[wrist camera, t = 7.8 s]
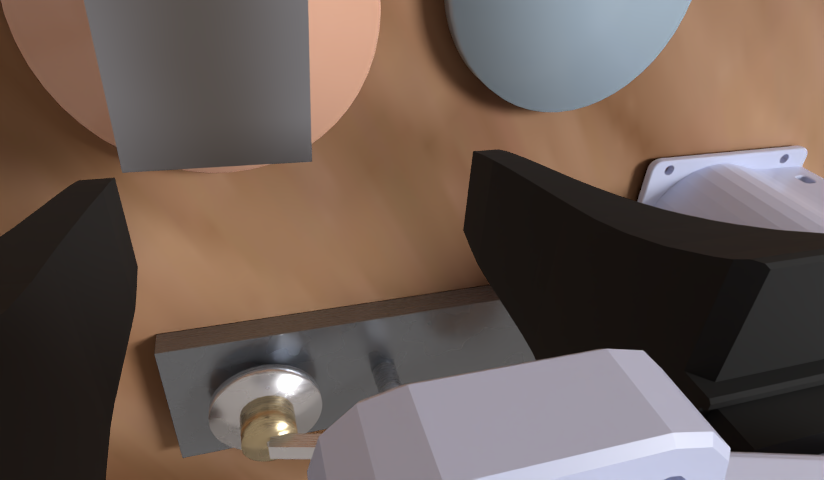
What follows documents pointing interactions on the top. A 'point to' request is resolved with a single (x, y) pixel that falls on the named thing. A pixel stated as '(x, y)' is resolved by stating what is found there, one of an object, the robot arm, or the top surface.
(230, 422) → the balance
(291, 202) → the top surface
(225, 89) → the block
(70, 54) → the dish
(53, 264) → the robot arm
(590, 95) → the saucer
